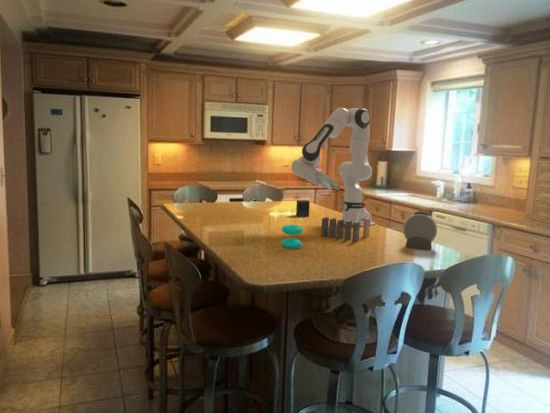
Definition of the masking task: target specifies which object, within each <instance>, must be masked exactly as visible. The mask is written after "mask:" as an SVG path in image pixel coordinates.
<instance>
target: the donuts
mask: <svg viewBox="0 0 550 413" xmlns="http://www.w3.org/2000/svg"><path fill="white" fill-rule="evenodd" d="M281 231H282V232H283V233H284V234H286V235H291V236H292V235H293V236H294V235H300V234H302V233H303V228H302V226H300V225H296V224H287V225H283V226H282V227H281ZM280 244H281V247H283V248H285V249H293V250H294V249H299V248H301V247H302V246H303V243H302V241H301V240H299V239H298V238H291V237H287V238H284V239H283V240H281V242H280Z"/></svg>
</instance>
